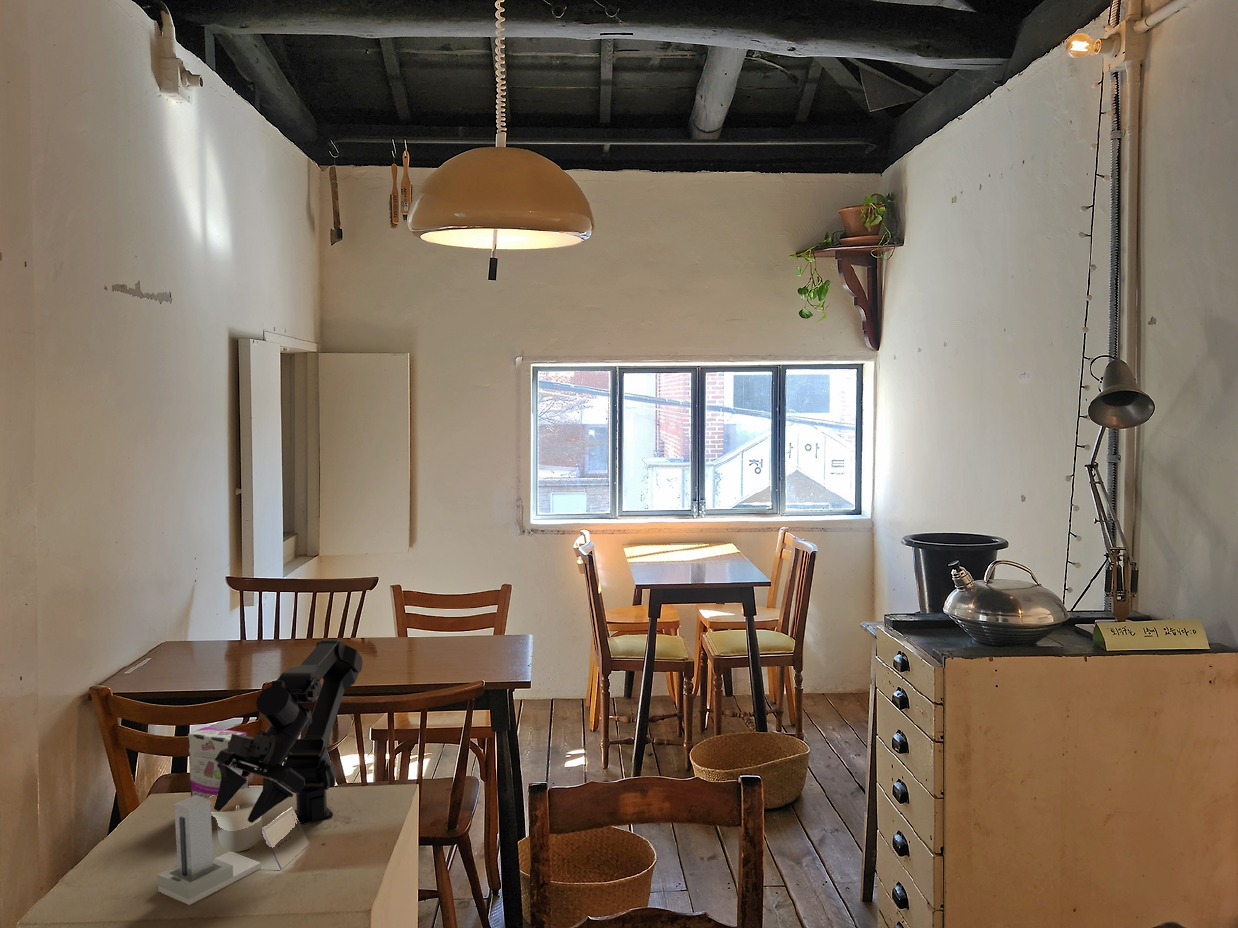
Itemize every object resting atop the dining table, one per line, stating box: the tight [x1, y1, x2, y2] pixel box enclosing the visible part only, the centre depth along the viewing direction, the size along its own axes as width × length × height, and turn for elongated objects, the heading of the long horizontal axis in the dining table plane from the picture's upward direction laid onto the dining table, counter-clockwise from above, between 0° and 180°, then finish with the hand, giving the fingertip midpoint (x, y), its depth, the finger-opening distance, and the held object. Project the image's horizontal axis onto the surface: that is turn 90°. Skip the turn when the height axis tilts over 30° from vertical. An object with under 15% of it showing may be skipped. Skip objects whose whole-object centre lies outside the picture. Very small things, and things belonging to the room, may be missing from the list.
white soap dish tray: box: [157, 850, 262, 906], centre depth 164 cm, size 14×8×3 cm, turn 149°
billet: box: [174, 795, 214, 882], centre depth 161 cm, size 4×4×14 cm
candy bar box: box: [187, 726, 250, 799], centre depth 190 cm, size 11×5×16 cm, turn 68°
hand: (232, 815), depth 167 cm, fingers open, 9 cm apart
